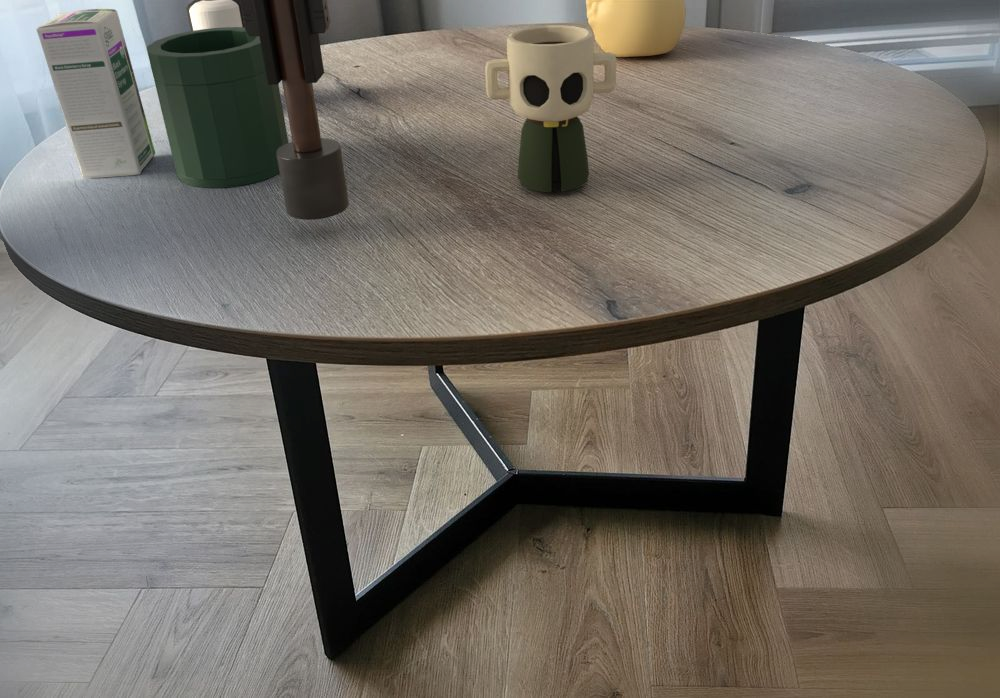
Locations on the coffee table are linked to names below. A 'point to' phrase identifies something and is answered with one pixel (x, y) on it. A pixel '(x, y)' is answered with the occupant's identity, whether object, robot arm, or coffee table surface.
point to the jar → (218, 107)
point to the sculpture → (636, 25)
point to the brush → (304, 132)
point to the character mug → (551, 100)
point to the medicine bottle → (214, 14)
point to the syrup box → (97, 92)
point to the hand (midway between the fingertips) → (296, 78)
